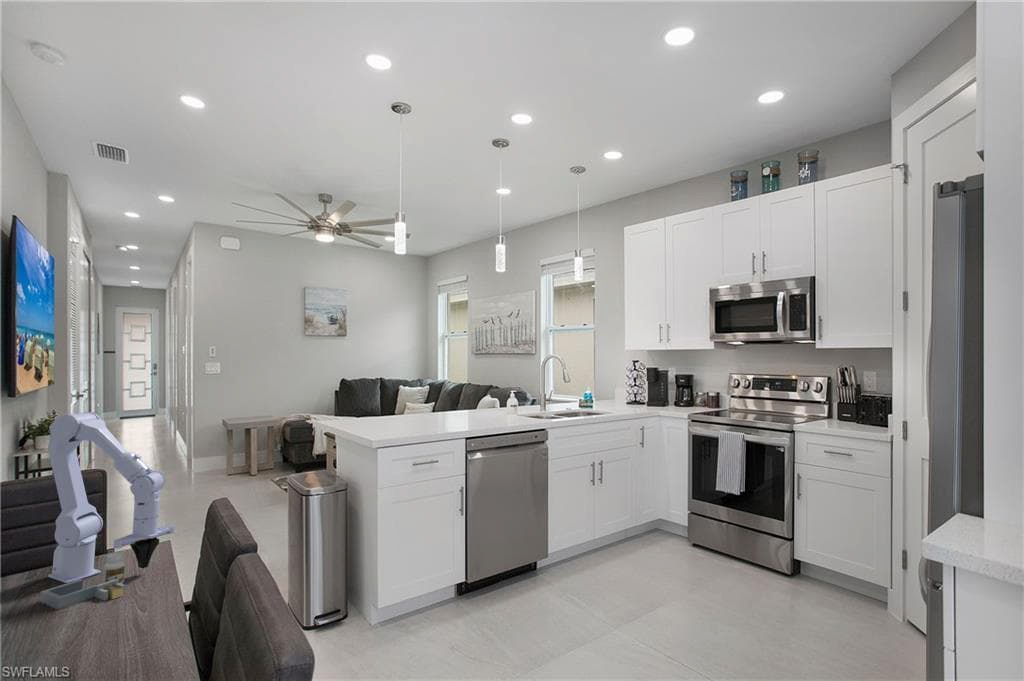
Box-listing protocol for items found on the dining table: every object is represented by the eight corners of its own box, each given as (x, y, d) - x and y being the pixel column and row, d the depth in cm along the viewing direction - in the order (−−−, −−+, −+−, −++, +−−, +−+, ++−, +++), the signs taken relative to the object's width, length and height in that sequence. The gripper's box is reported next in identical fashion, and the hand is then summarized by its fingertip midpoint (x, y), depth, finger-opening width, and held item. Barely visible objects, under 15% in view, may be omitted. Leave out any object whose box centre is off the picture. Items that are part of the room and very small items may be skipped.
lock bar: (98, 594, 127) (99, 587, 127) (109, 590, 129) (109, 583, 129) (112, 599, 124) (112, 591, 124) (123, 595, 126) (123, 588, 126)
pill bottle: (105, 589, 130) (107, 558, 130) (100, 584, 132) (102, 554, 133) (126, 583, 133) (128, 553, 134) (120, 579, 136) (122, 550, 136)
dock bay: (39, 602, 122) (40, 590, 122) (97, 583, 133) (98, 572, 133) (67, 613, 117) (68, 601, 117) (125, 593, 128) (125, 581, 128)
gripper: (125, 526, 132) (122, 579, 131) (181, 512, 145) (178, 560, 144) (110, 522, 135) (106, 574, 134) (166, 509, 148) (163, 556, 147)
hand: (143, 566), depth 139 cm, fingers closed
